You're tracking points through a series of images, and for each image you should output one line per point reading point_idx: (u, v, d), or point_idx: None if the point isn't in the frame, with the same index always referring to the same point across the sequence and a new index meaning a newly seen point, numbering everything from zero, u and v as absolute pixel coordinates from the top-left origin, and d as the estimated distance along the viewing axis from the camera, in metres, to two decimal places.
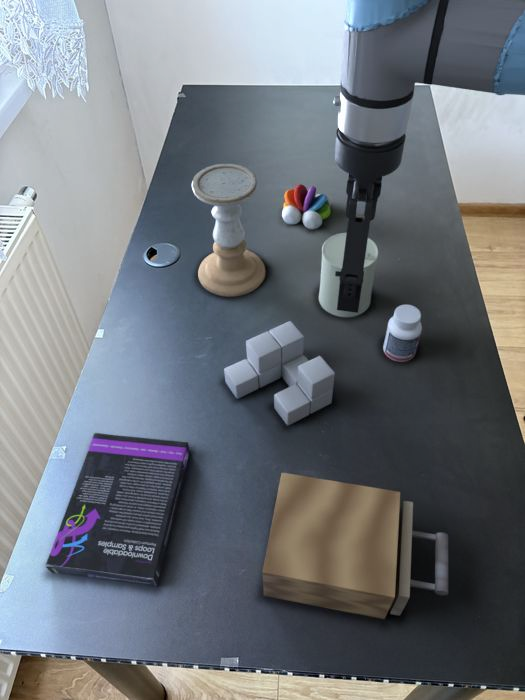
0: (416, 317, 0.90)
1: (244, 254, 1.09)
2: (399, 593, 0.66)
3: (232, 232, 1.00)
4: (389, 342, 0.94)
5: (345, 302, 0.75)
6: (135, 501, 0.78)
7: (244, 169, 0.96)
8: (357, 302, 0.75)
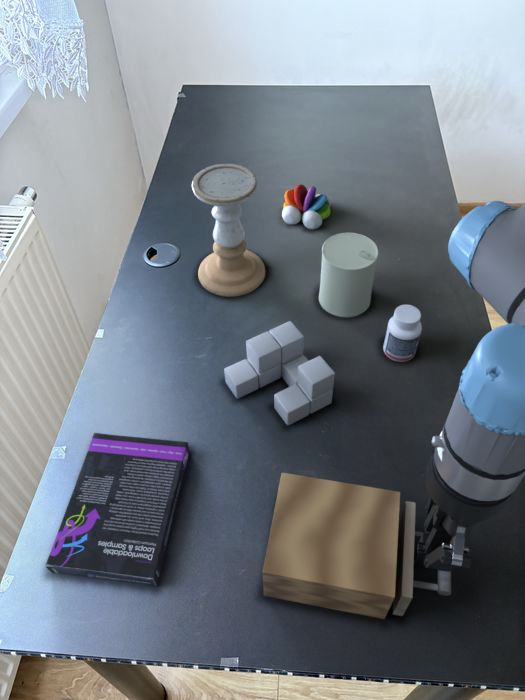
0: (416, 317, 0.90)
1: (244, 254, 1.09)
2: (402, 594, 0.66)
3: (232, 232, 1.00)
4: (389, 342, 0.94)
5: (423, 563, 0.70)
6: (135, 501, 0.78)
7: (244, 169, 0.96)
8: None
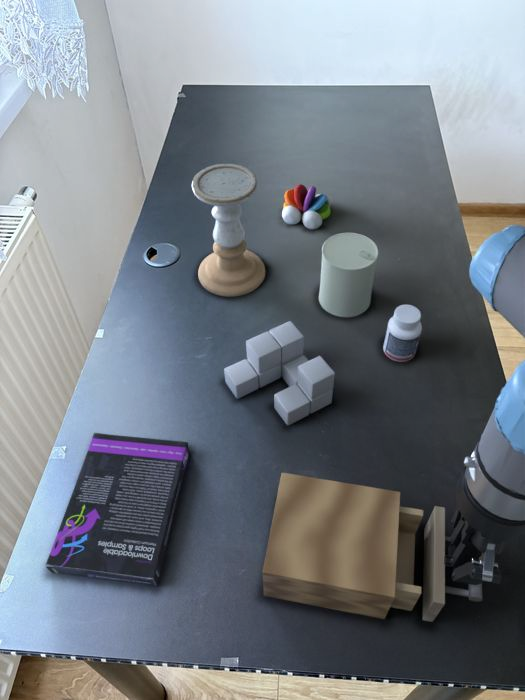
0: (416, 317, 0.90)
1: (244, 254, 1.09)
2: (434, 600, 0.65)
3: (232, 232, 1.00)
4: (389, 342, 0.94)
5: (448, 575, 0.71)
6: (135, 501, 0.78)
7: (244, 169, 0.96)
8: None
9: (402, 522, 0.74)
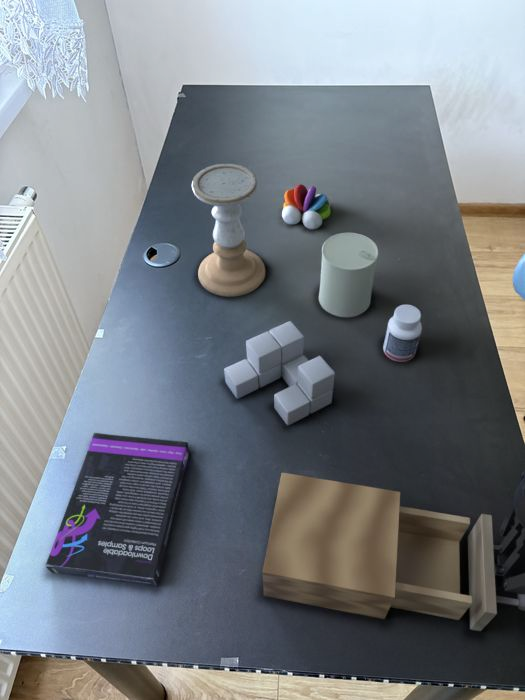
0: (416, 317, 0.90)
1: (244, 254, 1.09)
2: (486, 609, 0.64)
3: (232, 232, 1.00)
4: (389, 342, 0.94)
5: (496, 584, 0.70)
6: (135, 500, 0.78)
7: (244, 169, 0.96)
8: None
9: (447, 530, 0.73)
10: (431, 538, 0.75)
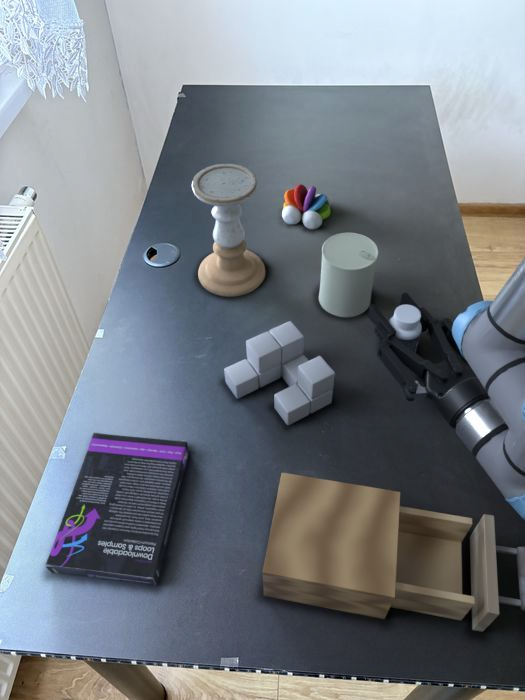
0: (416, 317, 0.90)
1: (244, 254, 1.09)
2: (488, 610, 0.64)
3: (232, 232, 1.00)
4: None
5: None
6: (135, 500, 0.78)
7: (244, 169, 0.96)
8: None
9: (449, 530, 0.73)
10: (433, 539, 0.75)
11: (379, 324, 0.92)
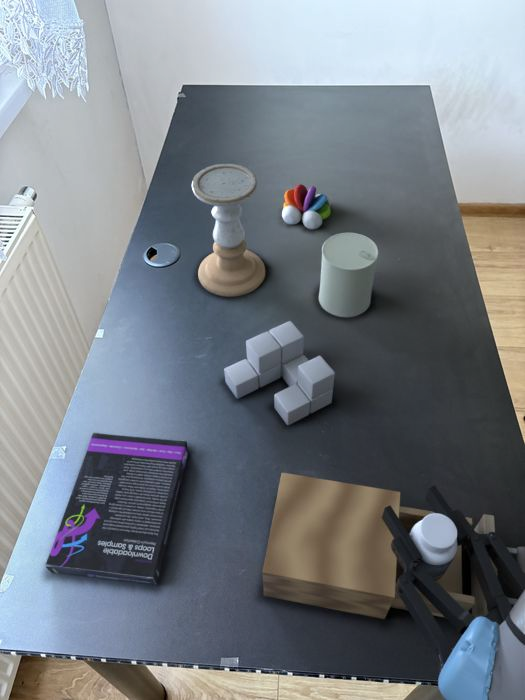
0: (451, 537, 0.64)
1: (244, 254, 1.09)
2: None
3: (232, 232, 1.00)
4: None
5: None
6: (135, 500, 0.78)
7: (244, 169, 0.96)
8: None
9: None
10: None
11: (398, 540, 0.66)
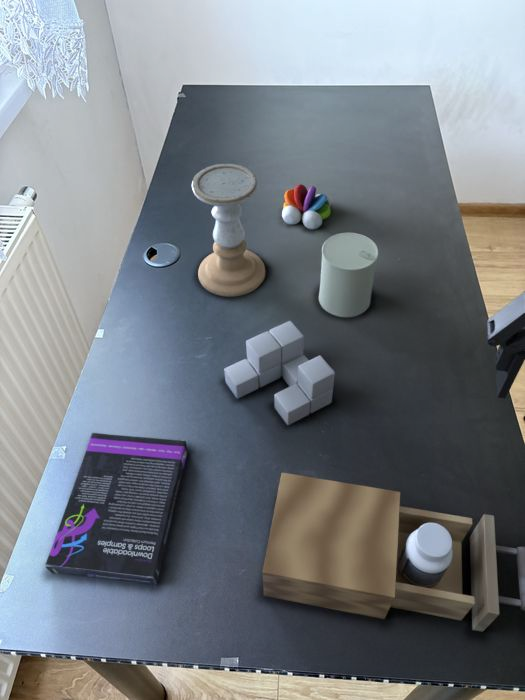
0: (446, 546, 0.66)
1: (244, 254, 1.09)
2: (488, 610, 0.64)
3: (232, 232, 1.00)
4: (408, 568, 0.69)
5: None
6: (134, 500, 0.78)
7: (244, 169, 0.96)
8: None
9: (449, 530, 0.73)
10: None
11: None
